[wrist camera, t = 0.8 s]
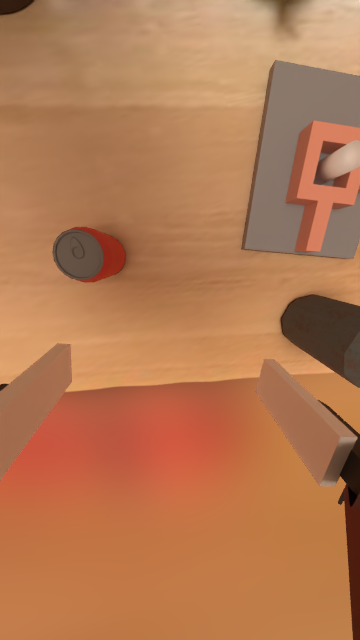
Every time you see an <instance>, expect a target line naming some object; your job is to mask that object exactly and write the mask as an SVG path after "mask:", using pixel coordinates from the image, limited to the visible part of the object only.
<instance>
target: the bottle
mask: <svg viewBox="0 0 360 640" xmlns="http://www.w3.org/2000/svg"><path fill="white" fill-rule="evenodd" d="M282 326H283V335H284V336H285V337H287V338H288V339H289V340H290V341H291V342H292V343H293V344H295V345H296V346H297V347H299V348H300V349H302V350H303V351H305V352H306V353H308V354H309V355H311V356H312V357H314V358H315V359H317V360H318V361H320V362H321V363H323V364H324V365H326V366H327V367H328V368H330V369H331V370H333V371H334V372H336V373H338V374H339V375H340V376H342V377H343V378H345V379H346V380H348V381H349V382H351V383H352V384H354V385H355V386H357V387H359V388H360V306H357V305H353V304H349V303H345V302H341V301H337V300H333V299H330V298H326V297H322V296H318V295H310V296H307V297H303V298H299V299H296V300H295V301H294V302H292V303H291V304H290V305H289V306H288V308H287V310H286V312H285V314H284V315H283V317H282Z"/></svg>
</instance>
